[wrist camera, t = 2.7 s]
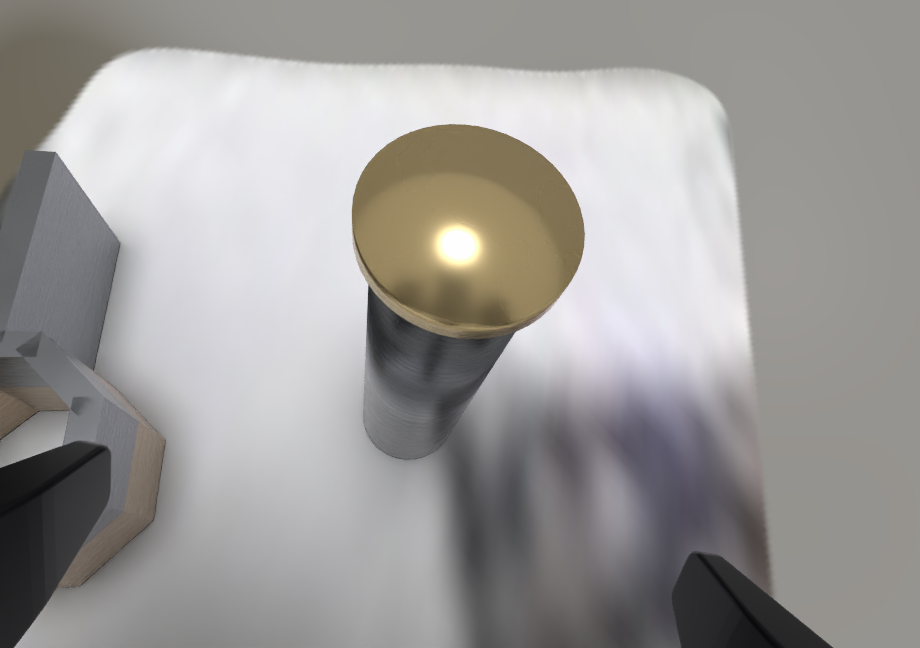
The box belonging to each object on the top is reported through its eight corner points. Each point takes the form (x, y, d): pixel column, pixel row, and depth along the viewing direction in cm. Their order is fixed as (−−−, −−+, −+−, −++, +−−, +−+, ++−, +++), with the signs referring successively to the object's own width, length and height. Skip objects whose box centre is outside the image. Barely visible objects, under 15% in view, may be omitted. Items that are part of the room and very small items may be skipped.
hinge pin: (463, 466, 20) (601, 325, 9) (353, 469, 19) (349, 322, 8) (457, 364, 21) (568, 132, 10) (355, 364, 21) (353, 116, 10)
